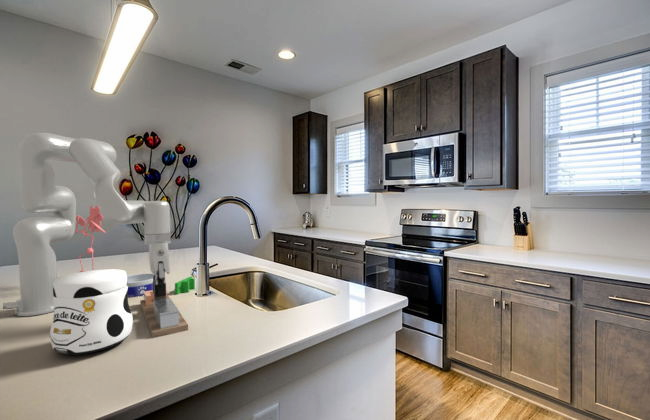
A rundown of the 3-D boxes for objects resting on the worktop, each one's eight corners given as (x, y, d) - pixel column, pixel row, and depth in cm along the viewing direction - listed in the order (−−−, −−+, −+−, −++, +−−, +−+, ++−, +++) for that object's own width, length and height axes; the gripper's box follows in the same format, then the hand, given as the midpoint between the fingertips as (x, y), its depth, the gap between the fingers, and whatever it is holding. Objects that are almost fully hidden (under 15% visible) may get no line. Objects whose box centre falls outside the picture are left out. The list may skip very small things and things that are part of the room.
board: (188, 329, 93) (188, 324, 93) (152, 337, 88) (152, 332, 88) (168, 299, 121) (168, 295, 120) (140, 304, 115) (140, 300, 115)
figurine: (92, 291, 133) (91, 205, 132) (65, 283, 147) (64, 205, 146) (131, 283, 146) (130, 205, 145) (103, 276, 160) (102, 205, 159)
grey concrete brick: (179, 325, 92) (179, 310, 92) (160, 329, 90) (160, 314, 90) (170, 310, 104) (170, 297, 104) (153, 314, 102) (153, 300, 102)
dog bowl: (127, 300, 121) (127, 284, 121) (107, 294, 129) (106, 279, 129) (166, 290, 134) (165, 275, 134) (145, 285, 142) (144, 271, 142)
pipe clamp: (184, 295, 127) (183, 283, 127) (175, 295, 127) (174, 283, 127) (198, 287, 138) (198, 276, 138) (190, 286, 139) (189, 276, 138)
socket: (168, 301, 114) (167, 292, 114) (146, 305, 110) (145, 296, 110) (164, 296, 120) (164, 288, 120) (143, 300, 116) (143, 291, 116)
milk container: (38, 368, 73) (34, 288, 72) (64, 337, 89) (61, 272, 88) (128, 352, 80) (125, 279, 79) (137, 326, 96) (135, 266, 95)
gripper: (175, 240, 101) (176, 298, 102) (166, 235, 115) (167, 286, 116) (147, 242, 97) (149, 303, 98) (141, 237, 111) (143, 290, 112)
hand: (159, 293), depth 107 cm, fingers closed on bar, 4 cm apart
